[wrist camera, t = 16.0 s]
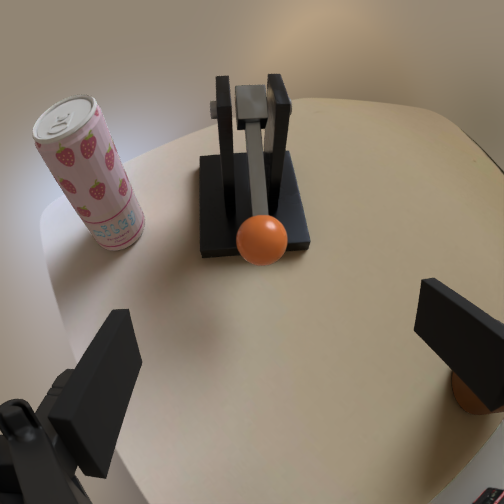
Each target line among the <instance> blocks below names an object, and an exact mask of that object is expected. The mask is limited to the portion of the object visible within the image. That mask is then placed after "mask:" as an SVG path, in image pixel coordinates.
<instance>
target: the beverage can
mask: <svg viewBox="0 0 504 504" xmlns="http://www.w3.org/2000/svg"><path fill="white" fill-rule="evenodd" d="M33 139H34V140H35V146H36V148H37V149H38V151H39V153H40V155H41V156H42V158H43V160H44V161H45V163H46V165H47V167H48V168H49V170H50V171H51V173H52V175H53V176H54V178H55V180H56V181H57V183H58V184H59V186H60V188H61V189H62V191H63V192H64V194H65V195H66V197H67V198H68V200H69V202H70V203H71V205H72V206H73V208H74V209H75V211H76V212H77V214H78V215H79V216H80V218H81V219H82V221H83V222H84V224H85V225H86V227H87V228H88V230H89V231H90V232H91V234H92V235H93V237H94V238H95V239H96V241H97V242H98V244H99V245H100V246H101V247H103V248H105V249H107V250H121V249H124V248H126V247H129V246H130V245H132V244H133V243H134V242H135V241H136V240H137V239H138V238H139V237H140V236H141V234H142V232H143V230H144V226H145V217H144V214H143V212H142V209H141V207H140V205H139V203H138V200H137V198H136V196H135V193H134V191H133V189H132V186H131V184H130V182H129V179H128V177H127V175H126V172H125V170H124V167H123V165H122V163H121V160H120V158H119V155H118V153H117V150H116V148H115V145H114V143H113V140H112V137H111V135H110V132H109V129H108V127H107V124H106V122H105V119H104V116H103V113H102V111H101V108H100V107H99V106H98V105H97V102H96V100H95V99H94V98H93V97H91V96H89V95H75V96H71V97H69V98H66V99H64V100H61V101H60V102H58V103H56V104H54V105H53V106H52V107H50V108H49V109H47V110H46V111H45V112H44V113H43V114H42V115H41V116H40V117H39V119H38V120H37V121H36V123H35V125H34V128H33Z"/></svg>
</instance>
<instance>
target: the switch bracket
mask: <svg viewBox="0 0 504 504" xmlns="http://www.w3.org/2000/svg"><path fill="white" fill-rule="evenodd" d="M267 106H268V116H269V118H268V121H267V124H266V128H265V137H264V152H263V158H264V169H265V180H266V192H267V204H268V215H269V216H272V217H274V218H276V219H277V220H278V221H280V222H281V224H282V225H283V226H284V228H285V230H286V233H287V247H286V250H285V251H296V250H307V249H308V248H309V245H310V237H309V232H308V228H307V223H306V219H305V215H304V210H303V206H302V202H301V197H300V193H299V189H298V185H297V181H296V177H295V173H294V169H293V165H292V161H291V157H290V153H289V151H285V150H286V141H287V133H288V125H289V117H290V115H291V112H292V103H291V99H290V98H289V97H288V94H287V91H286V88H285V86H284V83H283V80H282V77H281V75H280V74H268V82H267ZM210 111H211V119H217V120H218V132H219V144H220V155H208V156H200V172H199V206H200V252H201V255H202V258H210V257H222V256H234V255H241V254H240V252H239V250H238V248H237V243H236V237H237V232H238V230H239V228H240V226H241V225H242V223H243V222H244V221H245V220H247V219H248V218H250V217H252V213H251V200H250V188H249V175H248V163H247V153H233V130H232V105H231V96H230V84H229V76H217V77H216V101H211V102H210Z"/></svg>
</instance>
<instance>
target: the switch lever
mask: <svg viewBox="0 0 504 504" xmlns="http://www.w3.org/2000/svg"><path fill="white" fill-rule="evenodd" d="M235 107H236V122H237V130H245V138H246V150H247V163H248V175H249V188H250V200H251V213H252V217H250V218H248V219H247V220H245V221H244V222H243V223H242V225H241V226H240V228H239V230H238V232H237V237H236V243H237V248H238V250H239V252H240V254H241V256H242V257H243V258H244V259H245V260H247V261H248V262H250V263H252V264H254V265H260V266H265V265H269V264H272V263H274V262H276V261H277V260H279V259H280V258H281V257H282V255H283V254H284V252H285V250H286V247H287V233H286V230H285V228H284V226H283V225H282V224H281V222H280V221H278V220H277V219H276V218H274V217H272V216H269V215H268V204H267V192H266V180H265V169H264V158H263V147H262V136H261V129H265V128H266V124H267V121H268V118H269V116H268V106H267V97H266V88H265V85H242V86H235Z"/></svg>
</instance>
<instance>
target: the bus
mask: <svg viewBox="0 0 504 504" xmlns="http://www.w3.org/2000/svg"><path fill="white" fill-rule="evenodd" d="M428 504H504V419H503V421H502V422H501V423H500V425H499V426H498V428H497V429H496V430H495V431H494V433H493V434H492V435H491V437H490V438H489V439H488V440H487V442H486V443H485V444H484V445H483V447H482V448H481V449H480V450H479V451H478V453H477V454H476V455H475V456H474V457H473V458H472V459H471V461H470V462H469V463H468V464H467V465H466V466H465V467H464V468H463V469H462V471H461V472H460V473H459V474H458V475H457V476H456V477H455V478H454V479H453V480H452V481H451V482H450V483H449V484H448V485H447V486H446V487H445V488H444V489H443V490H442V491H441V492H440V493H439V494H438V495H437V496H436V497H435V498H433V499H432V500H431V501H430V502H429V503H428Z"/></svg>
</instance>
